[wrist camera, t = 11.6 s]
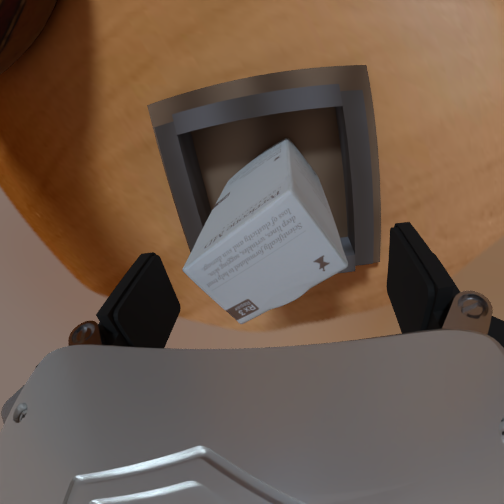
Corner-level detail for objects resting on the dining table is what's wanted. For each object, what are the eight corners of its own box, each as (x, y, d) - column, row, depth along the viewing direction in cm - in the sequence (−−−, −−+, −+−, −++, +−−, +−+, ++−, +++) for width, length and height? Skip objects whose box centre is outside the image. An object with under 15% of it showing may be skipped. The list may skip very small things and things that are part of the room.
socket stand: (362, 66, 17) (378, 60, 14) (376, 256, 25) (388, 281, 22) (152, 104, 20) (129, 107, 17) (203, 276, 28) (193, 302, 25)
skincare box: (286, 134, 20) (291, 176, 10) (321, 180, 21) (356, 265, 11) (224, 182, 22) (172, 266, 12) (260, 223, 24) (241, 330, 13)
